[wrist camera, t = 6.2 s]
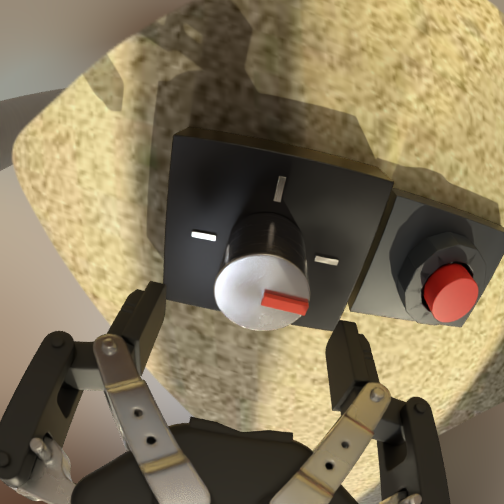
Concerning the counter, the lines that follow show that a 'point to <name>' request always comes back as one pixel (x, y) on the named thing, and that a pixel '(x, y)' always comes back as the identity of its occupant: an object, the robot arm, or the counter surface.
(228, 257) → the stove knob
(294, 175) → the stove panel
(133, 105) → the counter surface
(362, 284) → the button housing
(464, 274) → the power button
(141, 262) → the counter surface
